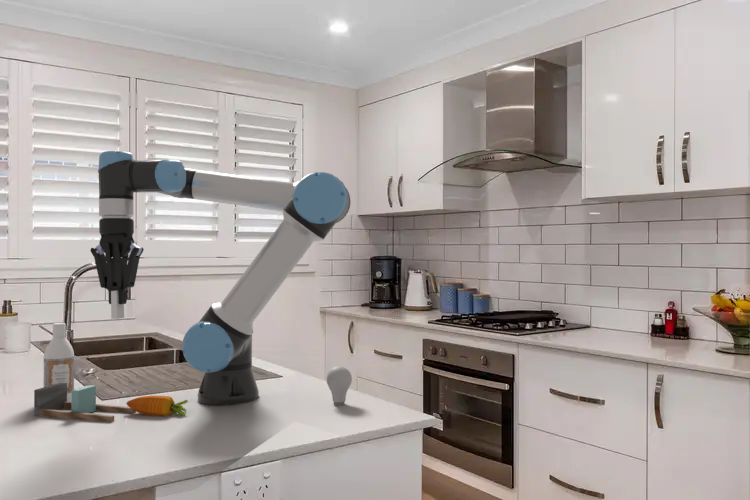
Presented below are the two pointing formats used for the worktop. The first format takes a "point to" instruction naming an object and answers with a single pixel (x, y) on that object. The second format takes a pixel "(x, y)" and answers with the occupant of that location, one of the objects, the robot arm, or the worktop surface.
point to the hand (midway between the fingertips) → (117, 318)
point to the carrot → (157, 406)
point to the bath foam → (59, 360)
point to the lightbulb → (339, 384)
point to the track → (68, 405)
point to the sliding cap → (84, 399)
